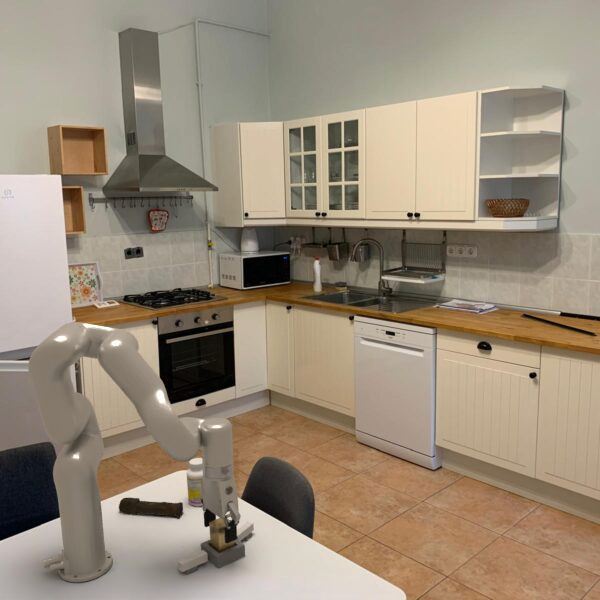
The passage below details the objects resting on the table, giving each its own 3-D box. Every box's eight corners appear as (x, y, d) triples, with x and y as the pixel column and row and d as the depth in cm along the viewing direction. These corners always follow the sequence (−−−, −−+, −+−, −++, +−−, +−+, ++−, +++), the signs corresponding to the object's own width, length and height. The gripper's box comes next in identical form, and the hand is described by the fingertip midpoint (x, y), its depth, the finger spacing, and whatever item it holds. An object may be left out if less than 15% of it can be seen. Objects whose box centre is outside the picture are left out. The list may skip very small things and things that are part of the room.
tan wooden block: (237, 554, 159) (236, 521, 158) (217, 563, 156) (215, 530, 154) (228, 547, 163) (227, 515, 161) (208, 556, 159) (206, 523, 157)
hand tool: (184, 513, 181) (183, 497, 180) (179, 520, 177) (178, 504, 176) (124, 508, 185) (122, 493, 184) (117, 515, 181) (116, 499, 180)
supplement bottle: (203, 494, 192) (201, 454, 189) (215, 501, 187) (213, 461, 184) (184, 501, 187) (181, 460, 185) (195, 509, 182) (193, 467, 180)
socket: (269, 544, 163) (269, 534, 163) (188, 581, 149) (188, 570, 148) (249, 530, 170) (249, 520, 170) (170, 564, 156) (169, 553, 155)
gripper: (250, 476, 151) (252, 542, 154) (212, 453, 164) (215, 514, 167) (223, 485, 146) (226, 553, 149) (187, 461, 159) (190, 524, 162)
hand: (220, 533), depth 158 cm, fingers open, 9 cm apart
